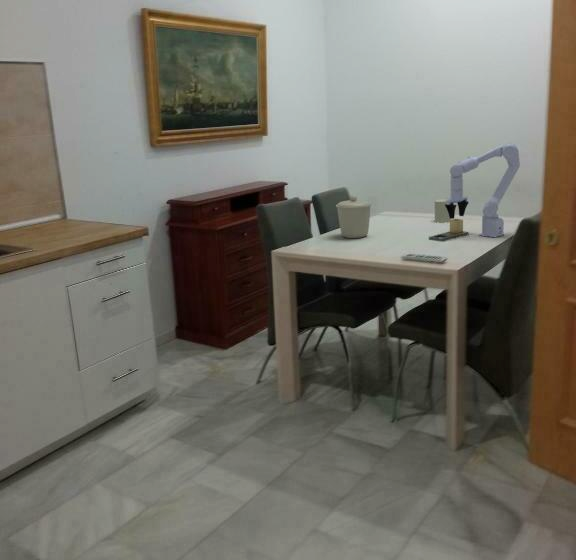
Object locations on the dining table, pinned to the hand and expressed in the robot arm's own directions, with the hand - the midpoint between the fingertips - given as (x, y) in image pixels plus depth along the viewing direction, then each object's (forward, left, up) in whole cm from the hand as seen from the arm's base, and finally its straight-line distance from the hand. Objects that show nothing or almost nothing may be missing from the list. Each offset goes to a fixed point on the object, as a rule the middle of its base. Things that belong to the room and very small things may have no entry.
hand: (456, 217), depth 310 cm
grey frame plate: (0, +6, -9) cm, 11 cm away
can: (+29, -26, -9) cm, 40 cm away
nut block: (0, 0, -9) cm, 9 cm away
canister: (+40, +31, -9) cm, 51 cm away
